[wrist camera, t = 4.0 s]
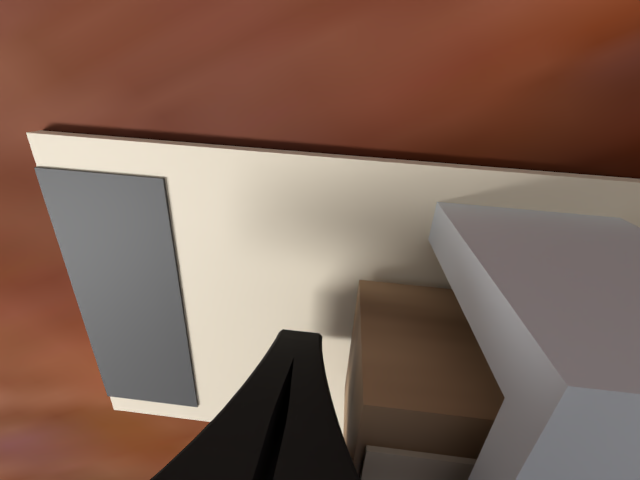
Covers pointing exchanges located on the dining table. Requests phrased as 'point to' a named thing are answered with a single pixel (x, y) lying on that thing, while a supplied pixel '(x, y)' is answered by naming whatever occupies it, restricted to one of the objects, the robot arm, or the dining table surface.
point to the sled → (415, 386)
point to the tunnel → (355, 279)
